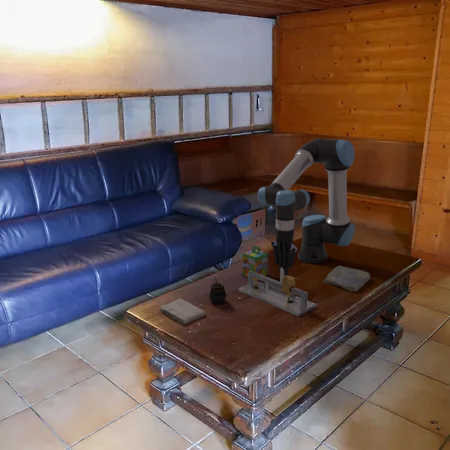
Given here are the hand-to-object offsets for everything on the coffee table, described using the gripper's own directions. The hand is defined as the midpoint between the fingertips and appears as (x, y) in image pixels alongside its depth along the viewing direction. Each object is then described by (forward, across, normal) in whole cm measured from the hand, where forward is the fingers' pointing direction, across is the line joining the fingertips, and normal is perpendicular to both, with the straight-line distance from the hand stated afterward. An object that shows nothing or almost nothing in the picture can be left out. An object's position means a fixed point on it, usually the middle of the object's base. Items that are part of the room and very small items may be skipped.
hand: (283, 281), depth 200 cm
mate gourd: (+10, -20, -20) cm, 30 cm away
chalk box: (+10, -28, +12) cm, 32 cm away
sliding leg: (+8, +3, 0) cm, 8 cm away
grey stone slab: (+10, +7, +37) cm, 39 cm away
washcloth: (+10, -23, -37) cm, 45 cm away
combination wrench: (+10, -5, +4) cm, 11 cm away
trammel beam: (+9, -4, 0) cm, 10 cm away
